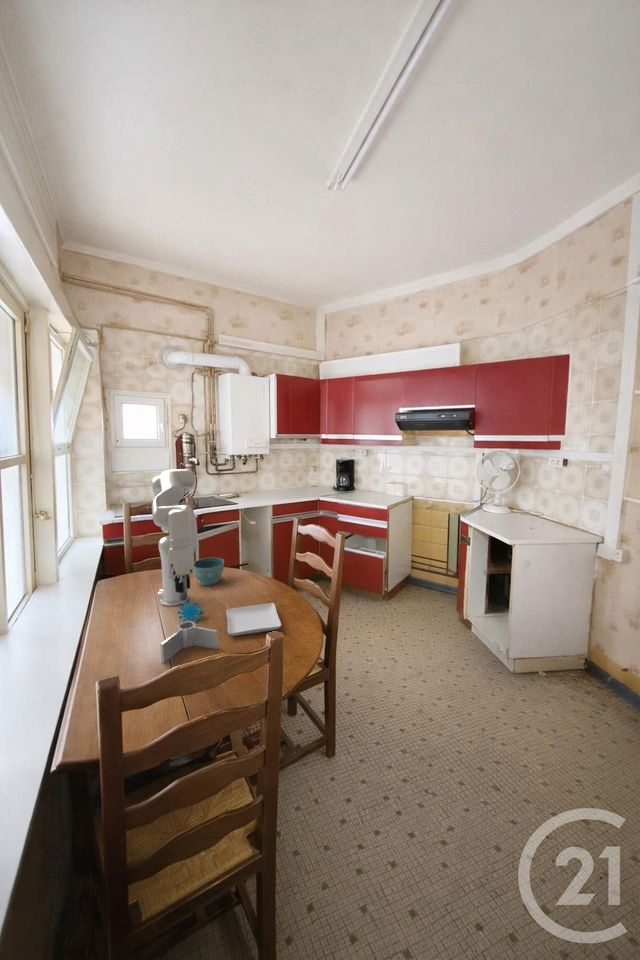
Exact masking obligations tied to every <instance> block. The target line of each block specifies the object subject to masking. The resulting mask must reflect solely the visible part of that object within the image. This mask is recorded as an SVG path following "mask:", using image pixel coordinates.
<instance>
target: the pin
mask: <svg viewBox="0 0 640 960" xmlns="http://www.w3.org/2000/svg"><path fill="white" fill-rule="evenodd" d="M187 574H189V570H188V571H186V572H184V573H183V574H182V582H183V586H184V592H183V593H180V592H179V600H180V601H185V600H187V599H188V600H189V595H188V589H187ZM178 578H179V576H178ZM188 600H187V601H188Z"/></svg>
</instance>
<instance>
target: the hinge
mask: <svg viewBox="0 0 640 960" xmlns="http://www.w3.org/2000/svg"><path fill="white" fill-rule="evenodd" d="M196 623H197V622H194V620H191V621H190V620H186V621H185V622H179V623H178V624H176V625H177V626H176V631H175V632H174V633H172V634H171V635H170V636H169V637H168V638H166V639H165V640H163V641H162V642H161V643H160V644H159V645H160V658H161V659H160V661H161V663H162V664H165V663H166V662H168V661H169V659H171V658H172V657H173V656H174V655H176V654H177V653H178V652H179V651H181V650H182V649H184V648H191V647H192V646H196V647H203V648H206V649H212V650H215V651H216V650H218V649H219V639H218V638H219V637H218V633H219V632H218V630H216V629H212V628H208V627H207V628H206V627H202V626H201V627H200V626H197V625H196Z"/></svg>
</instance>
